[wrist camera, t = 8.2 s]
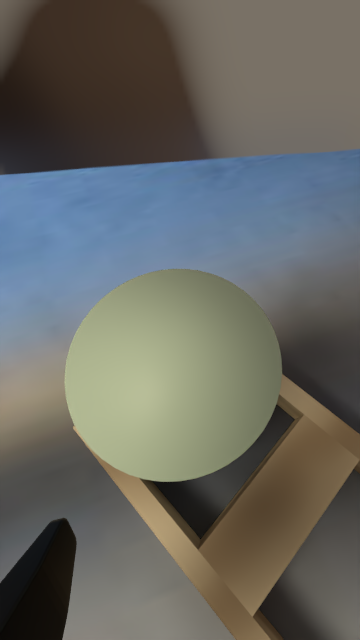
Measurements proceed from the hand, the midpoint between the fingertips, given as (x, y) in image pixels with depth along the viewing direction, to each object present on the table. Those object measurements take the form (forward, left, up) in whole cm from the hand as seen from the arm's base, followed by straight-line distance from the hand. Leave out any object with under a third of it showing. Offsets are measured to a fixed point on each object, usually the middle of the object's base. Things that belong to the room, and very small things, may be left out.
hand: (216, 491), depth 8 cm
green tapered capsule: (+2, -1, -8) cm, 9 cm away
